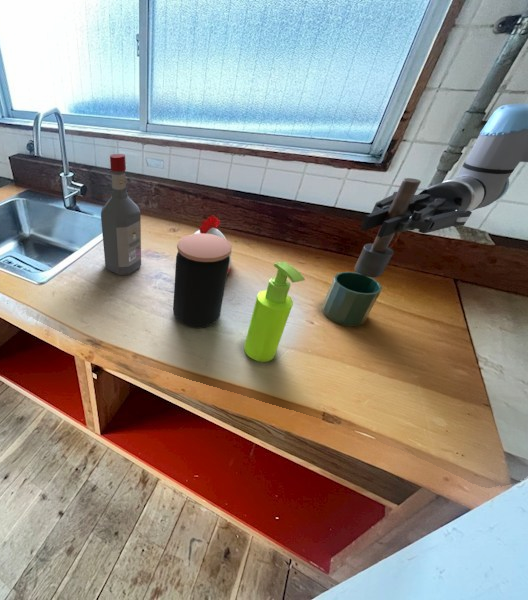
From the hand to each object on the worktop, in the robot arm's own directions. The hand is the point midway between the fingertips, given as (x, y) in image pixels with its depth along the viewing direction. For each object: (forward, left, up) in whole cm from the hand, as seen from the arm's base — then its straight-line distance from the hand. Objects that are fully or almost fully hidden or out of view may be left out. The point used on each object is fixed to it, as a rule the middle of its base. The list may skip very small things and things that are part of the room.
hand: (373, 226), depth 56 cm
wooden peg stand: (0, -6, -11) cm, 12 cm away
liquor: (+45, +28, -23) cm, 58 cm away
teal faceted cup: (+1, -6, -23) cm, 24 cm away
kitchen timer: (+33, +8, -23) cm, 41 cm away
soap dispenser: (+1, +19, -23) cm, 30 cm away
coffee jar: (+17, +23, -23) cm, 37 cm away
